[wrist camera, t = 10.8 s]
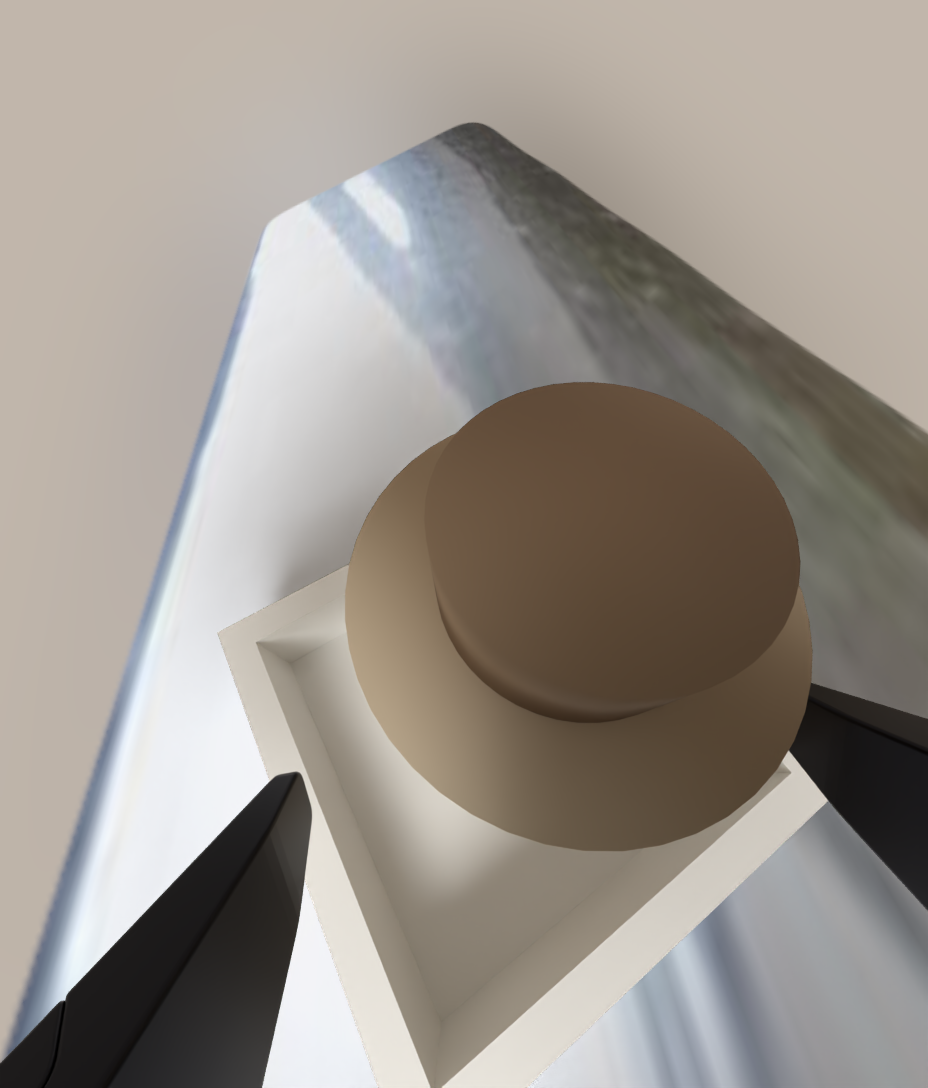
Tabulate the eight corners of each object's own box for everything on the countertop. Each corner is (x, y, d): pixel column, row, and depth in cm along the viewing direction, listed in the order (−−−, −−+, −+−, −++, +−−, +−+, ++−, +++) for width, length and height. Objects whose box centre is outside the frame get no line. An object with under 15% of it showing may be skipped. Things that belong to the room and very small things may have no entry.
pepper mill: (522, 827, 15) (880, 1170, 2) (406, 736, 16) (161, 586, 3) (588, 698, 17) (984, 444, 4) (479, 628, 18) (506, 269, 5)
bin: (430, 1074, 12) (415, 1193, 9) (265, 660, 18) (217, 632, 15) (760, 783, 16) (844, 785, 12) (534, 511, 22) (548, 459, 18)
